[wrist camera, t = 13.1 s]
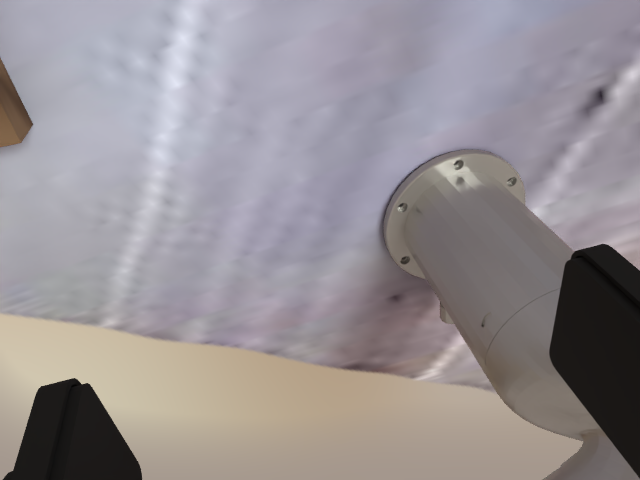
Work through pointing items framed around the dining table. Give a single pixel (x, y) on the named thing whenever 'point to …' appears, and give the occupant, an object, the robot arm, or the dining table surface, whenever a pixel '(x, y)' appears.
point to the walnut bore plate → (11, 112)
